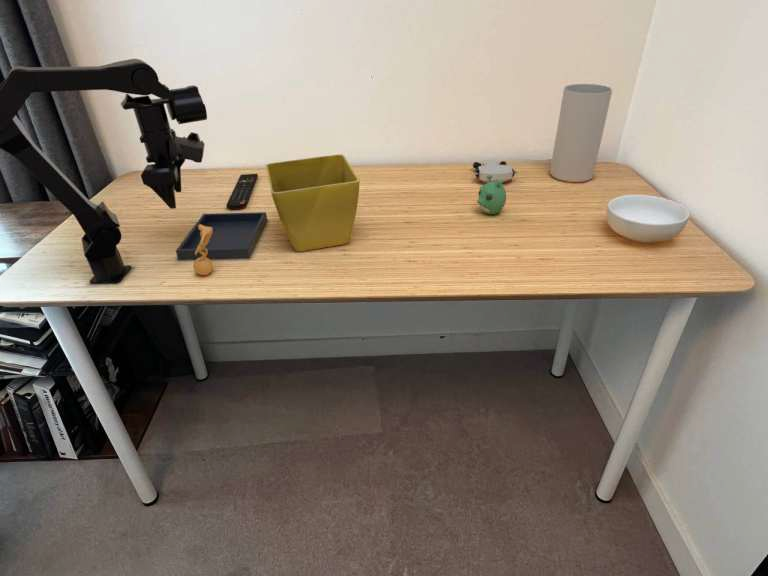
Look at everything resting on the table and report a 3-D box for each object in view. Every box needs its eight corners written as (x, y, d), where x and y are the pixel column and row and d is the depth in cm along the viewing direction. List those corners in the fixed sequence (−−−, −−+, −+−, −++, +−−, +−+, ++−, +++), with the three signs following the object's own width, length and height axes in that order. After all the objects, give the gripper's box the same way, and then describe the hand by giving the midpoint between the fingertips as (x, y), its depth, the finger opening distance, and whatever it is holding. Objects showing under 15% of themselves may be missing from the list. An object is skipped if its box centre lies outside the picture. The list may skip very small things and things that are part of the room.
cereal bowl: (640, 214, 122) (647, 188, 118) (696, 243, 109) (707, 215, 105) (586, 227, 117) (592, 200, 113) (638, 259, 104) (647, 230, 100)
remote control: (258, 177, 152) (257, 173, 152) (246, 209, 133) (245, 204, 132) (241, 178, 152) (240, 174, 151) (226, 210, 132) (225, 206, 132)
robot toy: (468, 172, 153) (475, 186, 140) (469, 158, 151) (476, 171, 138) (506, 171, 152) (517, 185, 139) (508, 156, 150) (519, 170, 137)
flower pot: (283, 262, 108) (271, 192, 99) (276, 226, 123) (265, 162, 114) (364, 248, 112) (360, 180, 103) (348, 215, 127) (343, 153, 118)
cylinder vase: (541, 171, 149) (554, 86, 135) (575, 166, 152) (592, 82, 138) (565, 185, 139) (582, 95, 125) (601, 179, 142) (622, 90, 128)
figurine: (203, 263, 109) (189, 215, 102) (229, 263, 108) (217, 215, 102) (189, 284, 102) (173, 234, 95) (216, 284, 101) (203, 233, 95)
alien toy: (469, 211, 127) (472, 175, 121) (493, 205, 130) (496, 169, 124) (486, 221, 122) (489, 184, 116) (510, 215, 124) (514, 178, 119)
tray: (249, 258, 110) (247, 249, 109) (178, 260, 110) (175, 250, 109) (267, 220, 126) (266, 212, 125) (205, 222, 127) (203, 213, 125)
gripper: (191, 137, 90) (210, 212, 99) (200, 113, 106) (216, 180, 114) (129, 143, 89) (154, 219, 97) (147, 118, 104) (167, 185, 112)
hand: (176, 199), depth 105 cm, fingers open, 9 cm apart
